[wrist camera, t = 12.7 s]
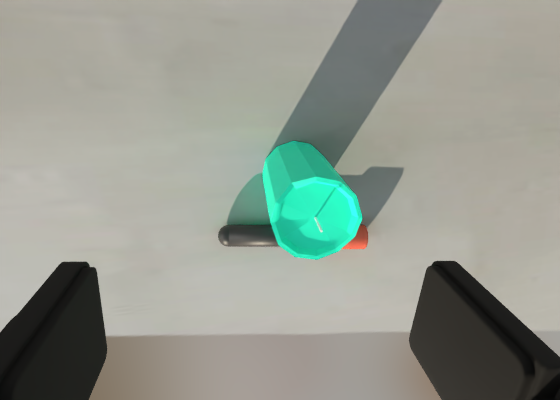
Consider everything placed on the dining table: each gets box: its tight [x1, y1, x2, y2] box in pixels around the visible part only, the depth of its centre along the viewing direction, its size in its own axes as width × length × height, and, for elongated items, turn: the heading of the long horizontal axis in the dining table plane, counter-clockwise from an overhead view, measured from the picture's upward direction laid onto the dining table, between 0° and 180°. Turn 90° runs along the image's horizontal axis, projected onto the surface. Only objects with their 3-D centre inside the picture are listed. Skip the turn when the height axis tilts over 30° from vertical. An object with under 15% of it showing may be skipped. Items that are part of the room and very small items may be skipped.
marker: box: [218, 225, 368, 249], centre depth 34 cm, size 14×2×2 cm, turn 87°
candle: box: [262, 141, 363, 260], centre depth 27 cm, size 6×6×12 cm
